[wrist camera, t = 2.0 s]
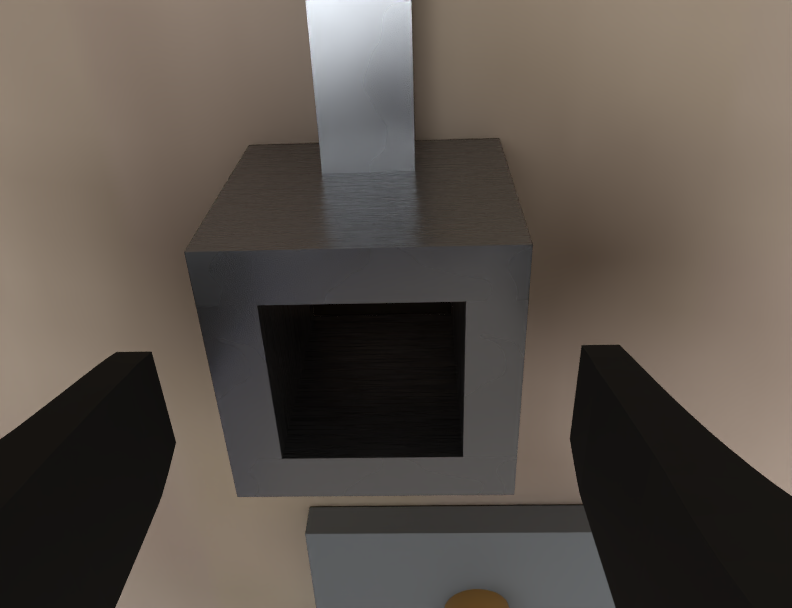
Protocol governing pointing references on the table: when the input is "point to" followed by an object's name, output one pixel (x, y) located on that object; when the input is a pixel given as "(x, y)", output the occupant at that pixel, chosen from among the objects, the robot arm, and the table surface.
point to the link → (366, 288)
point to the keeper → (455, 557)
